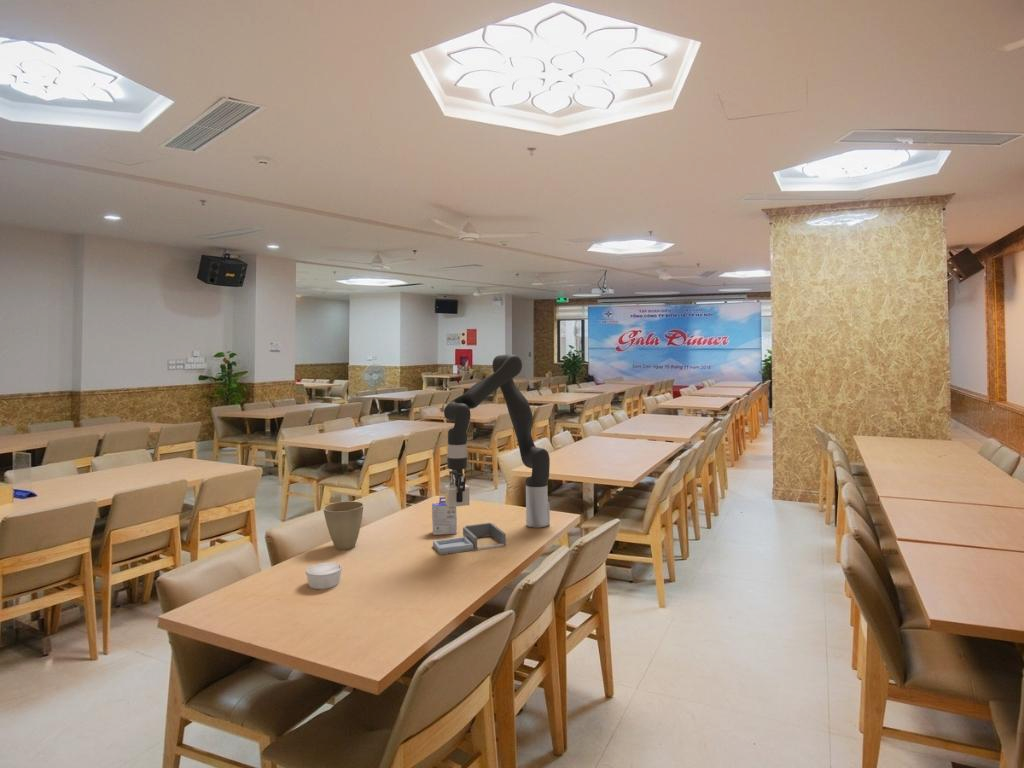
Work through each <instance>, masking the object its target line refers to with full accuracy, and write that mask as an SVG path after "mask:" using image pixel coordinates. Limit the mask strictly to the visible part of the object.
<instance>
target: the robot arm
mask: <svg viewBox="0 0 1024 768" xmlns="http://www.w3.org/2000/svg"><path fill="white" fill-rule="evenodd" d="M522 369H523V362H522V360H521V358H520V357H519V355H517V354H501V355H497V356H495V357H494V359H493V360H492V371H493V373H492V374H490V375H489V376H487V377H484V378H483V379H481V380H479V381H477V382H476V383H475V384H473V385H472V386H471V387H470V388H469V389H468V390H467V391H466V392H465V393H463V394H461V395H459V396H458V397H456V398H455V399H453V400H451V401H449V402H448V403H447V404H446V406H445V408H444V409H443V415H444V417H445V419H446V420H448V421H450V422H454V425H453V427H451V428H450V429H449V430H448V431H447V449H446V450H447V451H446V453H447V455H446V456H447V457H446V459H447V462H446V467H447V468H448V470H449V472H448V473H449V474H448V475H449V485H454V486H455V487H456V501H457V502H462V501H463V491H465V484H466V482H467V481H466V480H467V477H466V476H464V475H465V474H464V473H463V472H464V471H463V470H466V469H467V468H468V445H467V444H468V443H467V437H468V436H467V432H468V429H469V426H470V421H471V409H476V408H477V407H478V406H479V405H481V403H482V402H484V401H485V400H486V399H487V398H488V397H489V396H490V395H492V394H493V393H494V392H495V391H496V390H498V389H499V388H500V391H501V393H502V396H503V399H504V402H505V404H506V408H507V411H508V415H509V418H510V421H511V423H512V427H513V431H514V433H515V436H516V439H517V443H518V449H519V454H520V458H521V459H520V460H521V461H522V463H523V465H524V466H525V467H526V468H527V469H528V468H529V469H531V476H528V477H527V478H525V509H526V510H525V515H526V517H525V518H526V519H525V521H526V522H525V523H526V526H527V527H530V528H535V529H536V528H544V527H548V526H550V525H551V524H550V522H551V519H550V518H551V517H550V516H551V514H550V512H551V511H550V502H548V500H549V499H548V481H549V478H550V468H551V467H550V464H551V461H550V459H551V458H550V454H549V452H548V450H546V449H545V448H542V447H536V445H535V441H534V440H533V436H532V429H533V424H534V416H533V412H532V408H531V406H530V402H529V401H528V400H527V398H526V396H525V395H524V393H522V391H520V390H519V388H518V387H517V385H516V383H515V381H514V378H516V377H517V376H518V375H519V374H520V373H521V371H522ZM460 486H461V488H460Z"/></svg>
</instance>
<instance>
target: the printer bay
mask: <svg viewBox="0 0 1024 768" xmlns="http://www.w3.org/2000/svg"><path fill="white" fill-rule="evenodd" d="M506 535H507V534H506V532H504V531H503V530H501V528H500V527H498V526H497V525H496V524H494V523H492V522H484V523H478V524H470V525H469V524H468V525H465V526H464V527H463V526H462V537H465V536H466V537H467V538H468V539H469V540H470V541H471V542H472V543H473V549H474V550H473V551H475V550H479V551H480V550H486V549H494V548H500V547H505V546H507V541H506V538H507V536H506ZM483 537H492V538H493V539H494V540H496V541H497V542H498V543H497V544H490V545H484V546H478V538H483Z"/></svg>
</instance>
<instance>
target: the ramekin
mask: <svg viewBox="0 0 1024 768" xmlns="http://www.w3.org/2000/svg"><path fill="white" fill-rule="evenodd" d="M342 567H343V566H342V565H341V564H340V563H338V562H332V561H329V562H319V563H315V564H313V565H310V566H308V567H307V568H306V569H305V575H306V577H307V583H308V586H309V587H310V588H311V589H313V588H314V589H313V590H327V589H331V588H333V587H335V586H337V585H338V584H339V583H340V581H341V574H342V570H343V568H342Z"/></svg>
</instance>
